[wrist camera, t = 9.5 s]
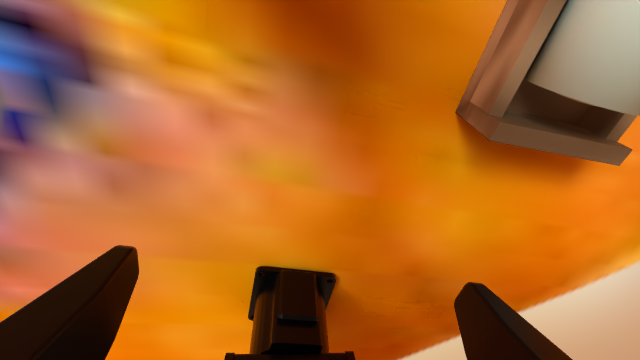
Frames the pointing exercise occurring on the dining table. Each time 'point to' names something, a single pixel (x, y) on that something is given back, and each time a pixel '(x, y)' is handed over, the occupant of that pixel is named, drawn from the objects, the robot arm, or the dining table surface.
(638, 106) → the roll
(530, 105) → the tray
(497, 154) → the dining table surface
